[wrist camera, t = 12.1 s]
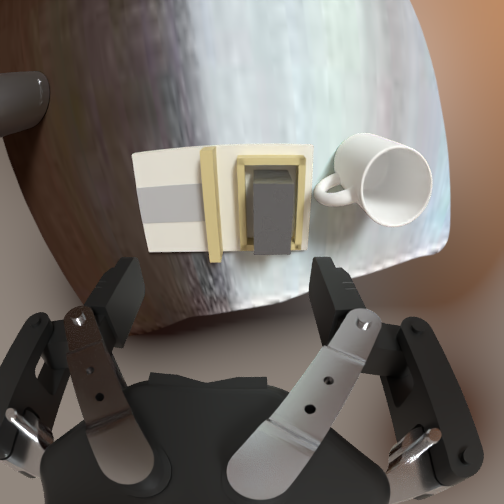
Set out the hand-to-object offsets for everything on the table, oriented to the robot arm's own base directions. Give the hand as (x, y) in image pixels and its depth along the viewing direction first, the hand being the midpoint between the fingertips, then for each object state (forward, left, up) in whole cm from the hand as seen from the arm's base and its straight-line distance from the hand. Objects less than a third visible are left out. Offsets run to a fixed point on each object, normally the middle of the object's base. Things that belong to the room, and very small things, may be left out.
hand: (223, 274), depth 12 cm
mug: (+13, 0, -23) cm, 27 cm away
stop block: (+3, -5, -22) cm, 23 cm away
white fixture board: (-3, -5, -23) cm, 24 cm away
